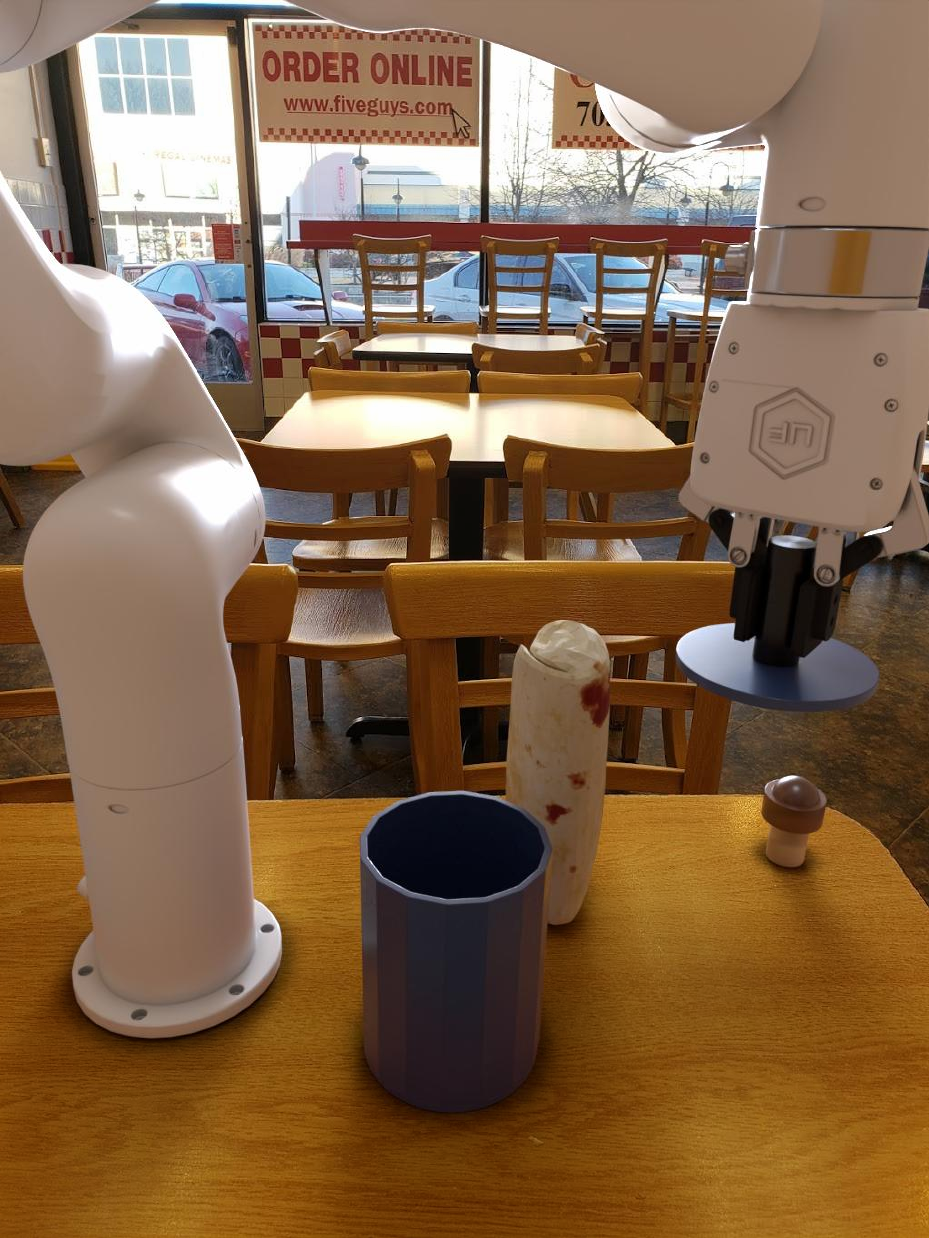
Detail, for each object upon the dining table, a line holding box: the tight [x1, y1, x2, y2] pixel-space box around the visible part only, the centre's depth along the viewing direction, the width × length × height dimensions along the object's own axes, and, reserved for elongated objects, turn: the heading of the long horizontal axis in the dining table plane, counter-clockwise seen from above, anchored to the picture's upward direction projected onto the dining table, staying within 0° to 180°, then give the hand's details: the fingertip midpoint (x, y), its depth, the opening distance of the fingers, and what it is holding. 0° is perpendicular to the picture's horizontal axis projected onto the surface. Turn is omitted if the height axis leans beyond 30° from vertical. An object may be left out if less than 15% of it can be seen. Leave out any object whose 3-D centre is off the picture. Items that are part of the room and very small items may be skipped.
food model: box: [505, 619, 611, 926], centre depth 63 cm, size 10×7×20 cm
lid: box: [675, 535, 880, 713], centre depth 49 cm, size 10×10×8 cm
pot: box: [359, 790, 553, 1114], centre depth 52 cm, size 10×10×14 cm
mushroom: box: [760, 775, 828, 868], centre depth 70 cm, size 4×4×7 cm
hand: (778, 638), depth 50 cm, fingers closed on lid, 2 cm apart
